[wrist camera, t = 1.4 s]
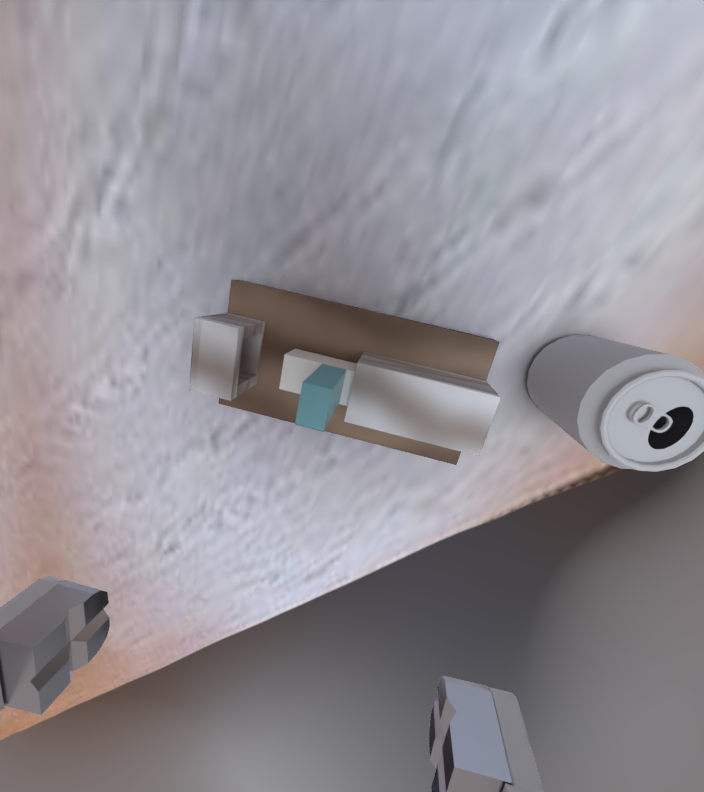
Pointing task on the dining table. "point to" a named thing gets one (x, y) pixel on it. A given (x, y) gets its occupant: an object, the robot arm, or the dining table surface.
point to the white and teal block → (317, 385)
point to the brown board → (374, 377)
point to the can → (621, 401)
